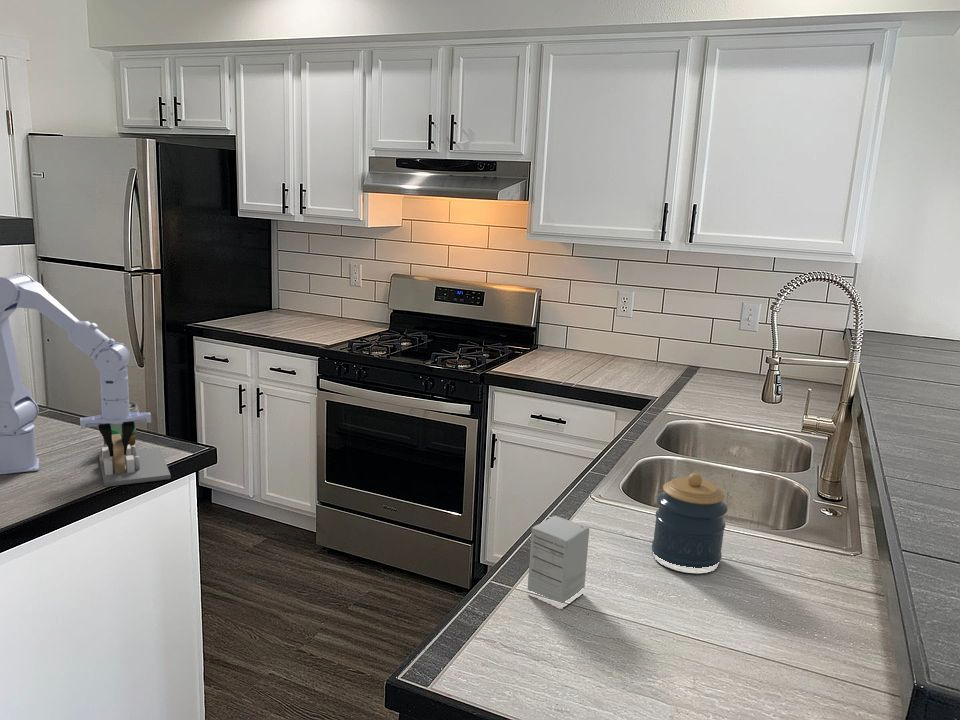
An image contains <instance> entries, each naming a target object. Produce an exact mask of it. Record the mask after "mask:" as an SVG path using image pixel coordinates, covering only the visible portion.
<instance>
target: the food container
mask: <svg viewBox="0 0 960 720" xmlns="http://www.w3.org/2000/svg"><path fill="white" fill-rule="evenodd" d="M129 409H130V413H140V410H139V406H138V405H137V402H134V401H132V400H129ZM100 415H102V411H101V412H100ZM134 425H135V428H134V431H133V433H132V435H131V437H130V440H129V443H128V445H130V446H133V445H136V435H137V433H136V432H137V423H134ZM111 430H112V434H121V438H122V425H121V424H116V425H111ZM103 444H104V445H103V446H104V447H108V446H107V444H106V442H105V440H104V439H103Z"/></svg>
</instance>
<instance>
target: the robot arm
mask: <svg viewBox="0 0 960 720" xmlns="http://www.w3.org/2000/svg"><path fill="white" fill-rule="evenodd" d="M19 308H21V309H33V310H36V311H38V312H39V313H41V314H42V315H43V316H45V317H46V318H48V319H49V320H50V321H52V322H54V323H55V324H56V325H58V326H59V327H60V328H61V329H63V330H64V331H65V332H67V337H68V340H69V342H71V343H73V345H75V347H77V348H78V349H79V350H81V351H82V352H84V353H85V354H86V356H88V357H90V359H92V360H93V363H94V366H95V368H96V369H97V370H98V371H99V383H100V386H99V387H100V401H101V402H100V403H101V404H100V405H101V412H102V415H101V414H99V415H93V416H87V417H80V418H79V422H80V426H79V427H80V429H87V428H91V427H98V431H99V433H100V434H101V436H102V438H103V441H104V440H105V442H106V444H107V446H108V449H109V453H110V457H112V456H113V447H112V430H111V425H116V424H121V425H122V442H123V445H124V455H126V452H127V446H128V443H129V440H130V437H131V435H132V433H133V431H134V428H135V425H134V423H136V424H138V423H139V424H140V423H145V422H146V424H148V423H152V414H151V411H150V412H146V411H145V412H139V413H130V409H129V401H130V392H129V391H130V390H129V389H130V387H129V372H128V366H127V365H128V364H129V363H130V361H131V358H132V355H131V351H130V349H129V348H128V346H126V344H125V343H121V342H116V340H115V339H114V338H113V337H112V338H110V337H109V336H108V335H106V334H105V333H104V332H102V331H101V329H99V328H98V327H99V325H98V324H96V322H90V321H88V320H83V321H82V320H79V319H78V318H77V317H76V316H74V315H73V314H72V313H71V312H70V311H69V310H68V308H66V307H64V306H63V304H61V303H60V302H59V301H58V300H57V299H56V298H54V296H52V295H51V294H50V293H49V292H48V291H47V290H46V289H45V287H44V286H43V284H41V283H40V282H38V281H36V280H35V279H34V278H33V276H31V275H29V274H28V273H23V272H17V273H14V274H11V275H6V276H0V475H7V474H17V473H24V472H26V473H27V472H36V471H39V470H40V457H37V444H36V443H37V442H36V432H35V431H36V429H35V420H36V419H37V418H38V416H39V413H40V409H39V405H38V403H37V402H36V401H35V400H34V399H33V396H32V392H31V390H29V388H27V387H26V386H25V385H24V383H23V379H22V375H21V374H22V373H21V369H20V365H19V360H18V357H17V356H18V355H17V351H16V347H15V343H14V338H13V334H12V329H11V325H10V320H9V318H10V316H11V315H12V314H13V313H14V312H15V311H16V310H17V309H19Z"/></svg>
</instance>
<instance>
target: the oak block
mask: <svg viewBox="0 0 960 720" xmlns="http://www.w3.org/2000/svg"><path fill="white" fill-rule="evenodd" d="M112 447H113V456H112V461H113V465H114V470H115V473H121V472H125V461H124V445H123V442H122V438H121V434H112Z"/></svg>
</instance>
